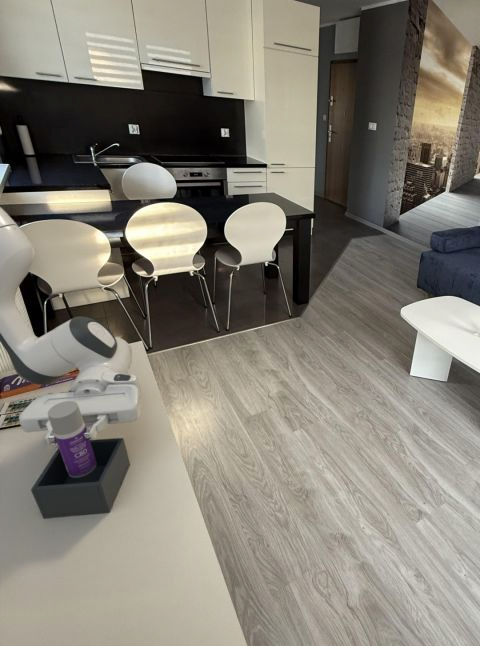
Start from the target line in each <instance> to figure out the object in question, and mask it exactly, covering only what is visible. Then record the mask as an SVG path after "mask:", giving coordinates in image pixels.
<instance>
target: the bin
mask: <svg viewBox="0 0 480 646" xmlns="http://www.w3.org/2000/svg"><path fill="white" fill-rule="evenodd" d="M89 440H90V443H91V446H92V449H93V453H94V456H95V459H96V467H95V469H94V470H93V471H92V472H91V473H89V474H87V475H85V476H83V477H79V478H73V477H70V476H69V474H68V472H67V469H66V466H65V463H64V461H63V458H62V455H61V452H60V450H59V447H57V449H56V451H55V452H54V453H53V455H52V457H51V458H50V460H49V461H48V463H47V464H46V466H45V467H44V469H43V470H42V472H41V474H40V475H39V477H38V478H37V480H36V481H35V483H34V484H33V486H32V488H31V489H30V491H31V493H32V496H33V498H34V501H35V503H36V505H37V508H38V510H39V512H40V514H41V516H42V518H43V519H54V518H65V517H74V516H75V517H77V516H88V515H99V514H109V513H111V511H112V509H113V506H114V503H115V501H116V499H117V497H118V494H119V492H120V490H121V487H122V485H123V483H124V481H125V478H126V475H127V473H128V471H129V468H130V466H131V463H130V459H129V455H128V451H127V447H126V442H125V439H124V437H116V438H115V437H114V438H98V439H97V438H95V439H89Z"/></svg>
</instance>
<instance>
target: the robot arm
mask: <svg viewBox="0 0 480 646" xmlns="http://www.w3.org/2000/svg"><path fill="white" fill-rule="evenodd" d="M34 261H35V248H34V246H33V244H32V242H31V240H30V239H29V237H28V236H27V234H25V233H24V231H23V230H22V229H21V227H20V226H19V225H18V224H17V223H16V222H15V220H14V219H13V218H12V217H11V216H10V215H9V214H8V212H7V211H5V209H4V208H2V206H0V343H1V345H2V346H3V348H4V350H5V351H6V352H7V355H8V357H9V359H10V361H11V365H12V367H13V369H14V370H15V373H16V374H17V376H19V377H20V378H21V379H22V380H24V381H25V382H28V383H31V384H35V385H38V386H39V385H40V386H49V385H53V384H55V383H56V382H59V380H60V379H62V378H63V377H65V376H66V375H68V374H69V373H70V372H72V371H74V370H76V369H78V371H79V372H78V374H77V375H76V377H75V379H74V380H73V382H72V384H71V386H70V387H69V389H68V391H64V392H63V391H61V392H51V393H50V392H49V393H46V394H41V395H39V396H38V397H36V398H34V400H32V401H31V402H30V403H29V404H28V405H27V406H26V407H25V408H24V409H23V411H22V412H21V413H20V415H19V416H18V423H19V424H20V428H22V430H23V431H24V432H25V433H35V432H36V433H37V432H46V431H48V432H46V435H45V437H44V441H45V443H46V444H47V445H51V444H57V441H56V439H55V436H54V433H53V429H52V426H51V423H50V420H49V417H48V411H49V410H50V408H52V407H53V406H54V405H56V404H58V403H61V402H65V401H74V402H76V403H77V404H78V407H79V409H80V412H81V415H82V418H83V421H84V424H85V427H86V431H85V432H84V437H85V440H96V437H97V436H98V434H99V433H100V432H102V431H103V430H105V429H106V428H107V427H108V425H113V424H114V425H115V424H124V423H125V424H127V423H133V422H135V421H137V420H138V419H139V418H140V416H141V413H142V407H143V405H142V391H141V386H140V382H139V379H138V377H137V375H134V374H129V371H130V369H131V365H132V362H133V352H132V347H131V345H130V344H129V342H127V341H126V340H125V339H123V338H121V337H118V336H115V335H114V334H113V333H112V331H111V330H110V329H109V328H108V327H107V326H106V325H104V324H103V323H102V322H100V321H99V320H96V319H94V318H90V317H86V316H74V317H72V318H71V319H69V320H67V321H65V322H63V323H61V324H60V325H58V326H56V327H55V328H53V329H52V330H50V331H48V332H45V334H43V335H41V336H39V337H38V336H36V335H35V333H34V332H33V330H32V329H31V327H30V325H29V324H28V323H27V321H26V320H25V318H24V316H23V315H22V313H21V311H20V310H19V308H18V306H17V303H16V295H17V292H18V289H19V287H20V285H21V284H22V282H23V281H24V279H25V278H26V277H27V275H28V274H29V273H30V271H31V269H32V267H33V264H34Z"/></svg>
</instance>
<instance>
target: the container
mask: <svg viewBox="0 0 480 646" xmlns="http://www.w3.org/2000/svg"><path fill="white" fill-rule="evenodd" d="M48 417H49V420H50V423H51V426H52V429H53V433H54V436H55V439H56V441H57V443H56V444H57V448H59V450H60V452H61V455H62V458H63V461H64V463H65V466H66V469H67V472H68V474H69V476H70V477H73V478H79V477H83V476H85V475H87V474H89V473H91V472H92V471H93V470H94V469H95V467H96V459H95V456H94V453H93V449H92V446H91V443H90V440H91V439H89V440H85V437H84V432H85V431H86V428H87V426H86V427H85V424H84V421H83V418H82V415H81V412H80V409H79V407H78V404H77V403H76V402H74V401H65V402H61V403H58V404H56V405H54V406H53V407H52V408H50V410H49V411H48Z"/></svg>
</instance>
